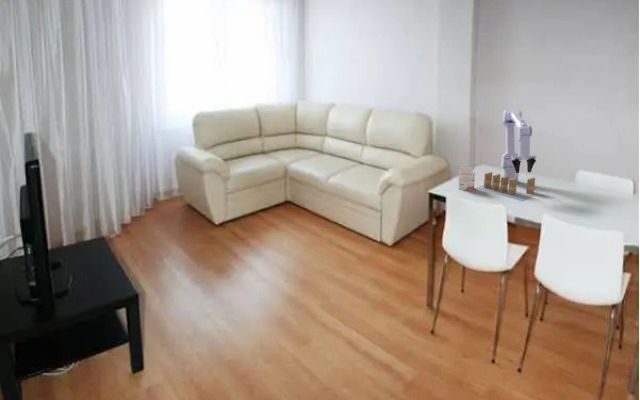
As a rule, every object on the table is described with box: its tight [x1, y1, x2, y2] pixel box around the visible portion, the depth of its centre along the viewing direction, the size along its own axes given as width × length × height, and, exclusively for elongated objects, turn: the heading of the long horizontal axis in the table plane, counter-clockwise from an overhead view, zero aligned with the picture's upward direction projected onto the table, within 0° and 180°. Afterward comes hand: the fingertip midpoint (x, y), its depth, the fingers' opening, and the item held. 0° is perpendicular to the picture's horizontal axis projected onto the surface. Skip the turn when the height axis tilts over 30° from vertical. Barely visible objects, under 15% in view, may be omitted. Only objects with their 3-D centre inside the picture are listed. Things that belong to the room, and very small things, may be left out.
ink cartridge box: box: [457, 166, 476, 192], centre depth 284 cm, size 9×5×15 cm, turn 62°
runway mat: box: [475, 184, 535, 202], centre depth 278 cm, size 12×31×1 cm, turn 35°
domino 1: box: [483, 171, 493, 188], centre depth 286 cm, size 2×5×9 cm, turn 126°
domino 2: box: [492, 173, 501, 191], centre depth 281 cm, size 2×5×9 cm, turn 126°
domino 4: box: [508, 178, 518, 195], centre depth 273 cm, size 2×5×9 cm, turn 125°
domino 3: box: [499, 176, 509, 193], centre depth 277 cm, size 2×5×9 cm, turn 126°
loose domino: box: [525, 177, 536, 195], centre depth 273 cm, size 2×5×9 cm, turn 126°
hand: (523, 172), depth 267 cm, fingers open, 7 cm apart
